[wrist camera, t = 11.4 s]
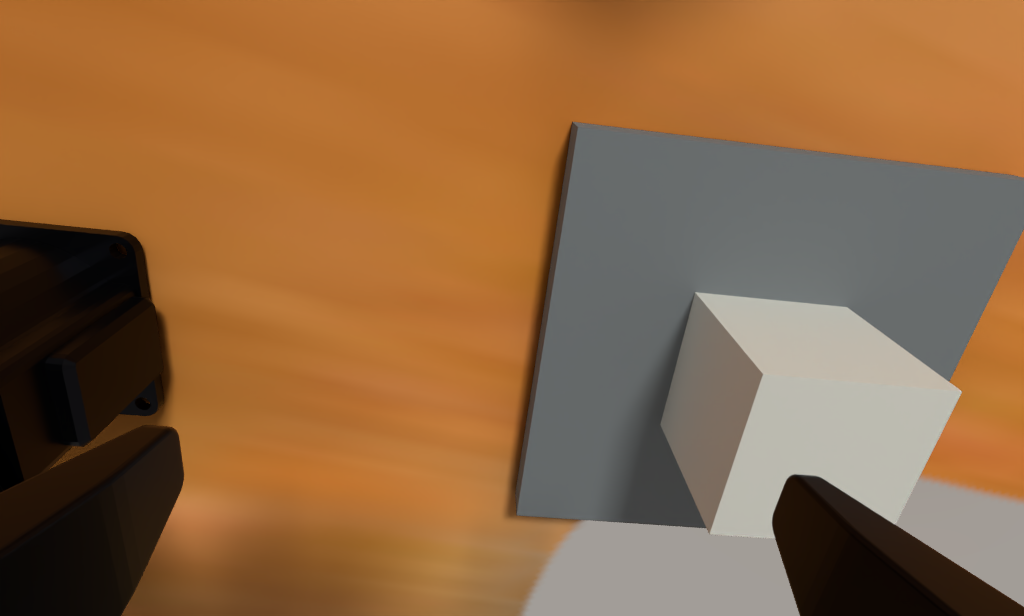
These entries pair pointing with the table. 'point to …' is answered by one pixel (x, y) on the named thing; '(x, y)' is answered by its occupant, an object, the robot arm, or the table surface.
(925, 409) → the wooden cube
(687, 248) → the rubber mat
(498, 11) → the table surface
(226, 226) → the table surface
